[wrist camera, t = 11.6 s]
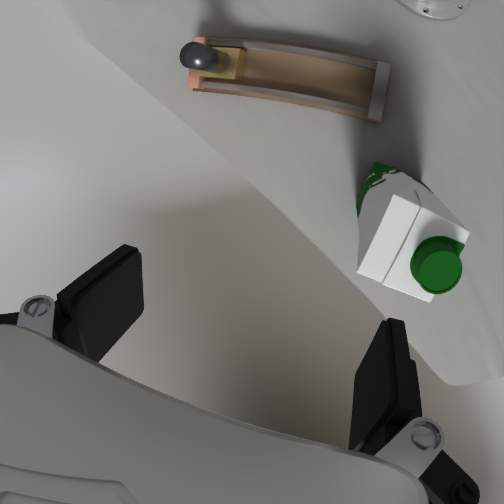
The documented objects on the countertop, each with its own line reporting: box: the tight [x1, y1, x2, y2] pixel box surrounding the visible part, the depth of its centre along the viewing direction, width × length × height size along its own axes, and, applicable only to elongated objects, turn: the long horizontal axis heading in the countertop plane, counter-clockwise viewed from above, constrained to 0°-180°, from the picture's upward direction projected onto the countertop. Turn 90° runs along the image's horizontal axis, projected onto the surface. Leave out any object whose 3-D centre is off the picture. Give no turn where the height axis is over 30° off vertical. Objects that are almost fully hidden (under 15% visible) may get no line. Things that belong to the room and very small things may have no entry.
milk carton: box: [356, 162, 470, 302], centre depth 31 cm, size 9×9×20 cm
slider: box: [180, 42, 247, 81], centre depth 32 cm, size 4×5×10 cm
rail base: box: [187, 37, 392, 124], centre depth 34 cm, size 8×25×4 cm, turn 82°
